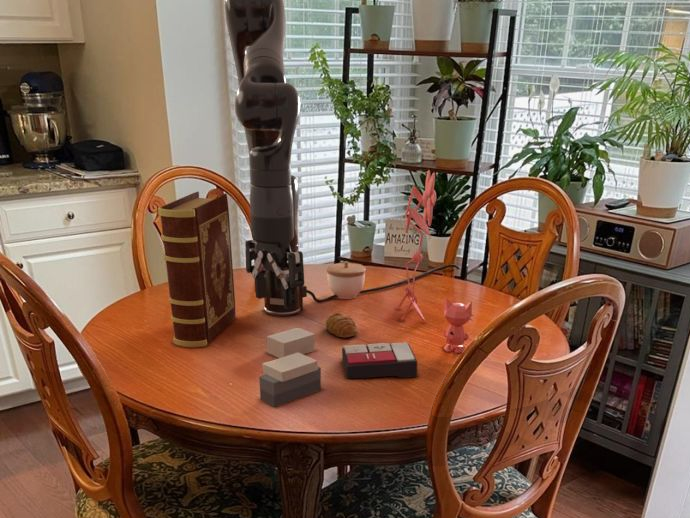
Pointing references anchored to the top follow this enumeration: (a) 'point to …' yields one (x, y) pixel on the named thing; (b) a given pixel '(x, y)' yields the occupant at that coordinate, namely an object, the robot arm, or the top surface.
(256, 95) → the robot arm
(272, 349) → the light gray block
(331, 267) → the trinket box
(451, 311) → the cat figurine
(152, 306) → the top surface
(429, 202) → the figurine
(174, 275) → the decorative book
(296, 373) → the beige flat block
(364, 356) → the grey and red box
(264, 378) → the gray sharpening stone
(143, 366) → the top surface
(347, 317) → the pastry
